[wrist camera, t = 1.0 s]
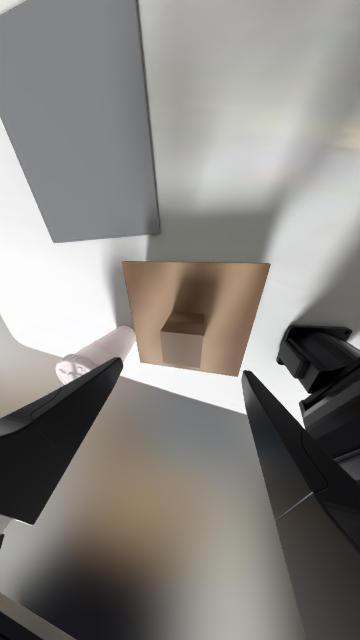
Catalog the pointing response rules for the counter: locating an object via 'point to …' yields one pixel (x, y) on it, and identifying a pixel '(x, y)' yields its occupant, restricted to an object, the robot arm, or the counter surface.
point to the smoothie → (96, 354)
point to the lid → (194, 312)
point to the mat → (80, 115)
